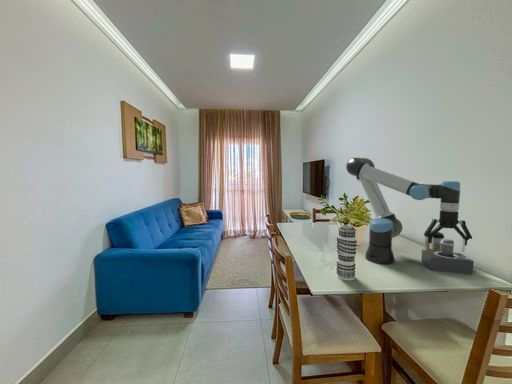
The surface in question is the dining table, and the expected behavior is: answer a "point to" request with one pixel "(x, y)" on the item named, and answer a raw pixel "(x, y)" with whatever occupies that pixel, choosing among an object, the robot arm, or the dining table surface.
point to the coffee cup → (436, 246)
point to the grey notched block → (447, 262)
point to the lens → (446, 248)
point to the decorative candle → (346, 253)
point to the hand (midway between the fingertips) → (446, 250)
